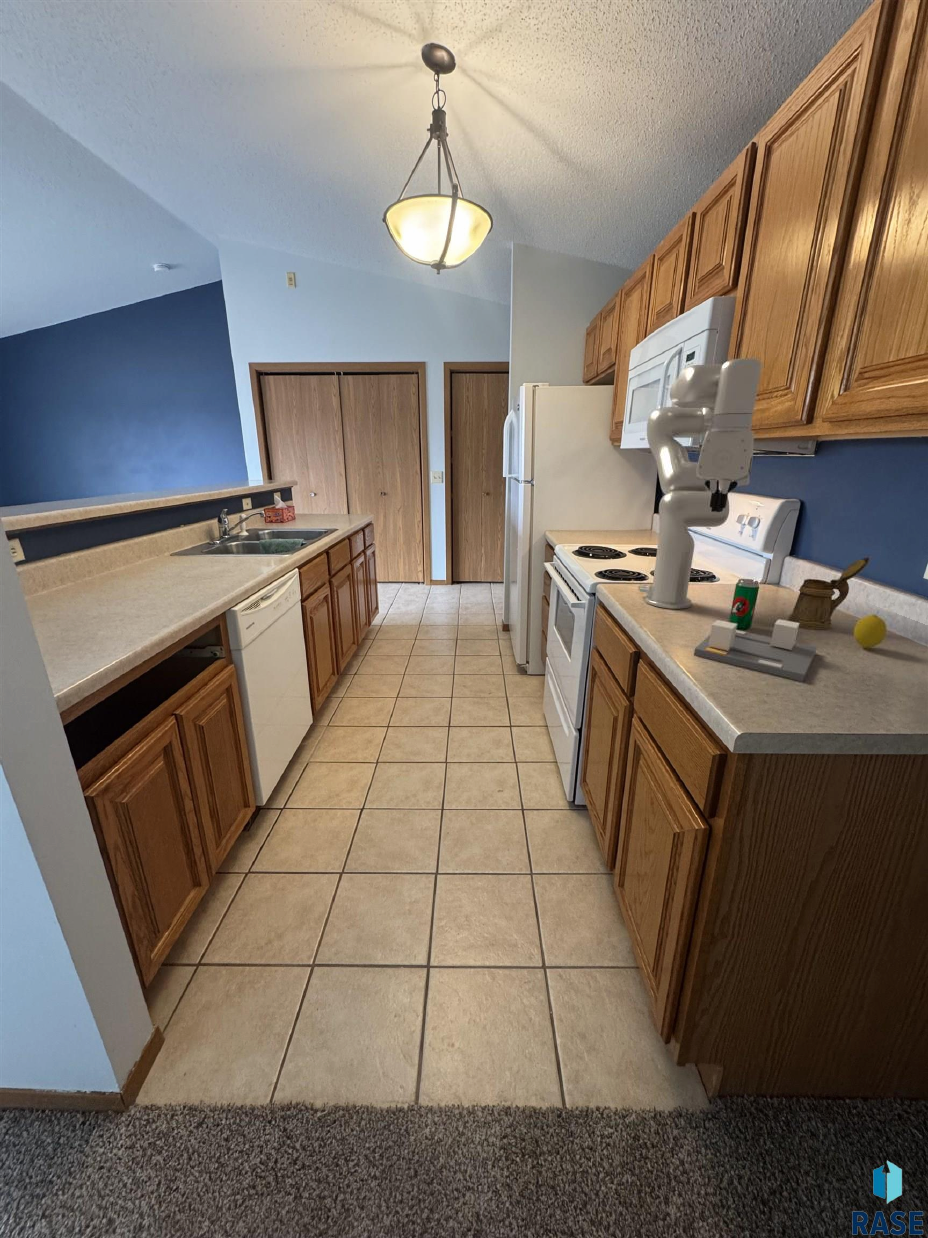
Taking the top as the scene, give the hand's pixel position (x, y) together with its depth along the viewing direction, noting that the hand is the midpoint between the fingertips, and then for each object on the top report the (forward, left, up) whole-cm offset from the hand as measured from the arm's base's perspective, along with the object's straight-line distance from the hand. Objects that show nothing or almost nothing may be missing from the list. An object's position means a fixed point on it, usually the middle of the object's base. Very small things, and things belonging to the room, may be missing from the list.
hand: (716, 511), depth 111 cm
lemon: (+32, +14, -29) cm, 46 cm away
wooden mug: (+22, +26, -29) cm, 45 cm away
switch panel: (+14, -6, -29) cm, 33 cm away
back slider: (+18, -2, -27) cm, 33 cm away
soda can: (+7, +11, -29) cm, 32 cm away
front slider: (+8, -11, -27) cm, 30 cm away
